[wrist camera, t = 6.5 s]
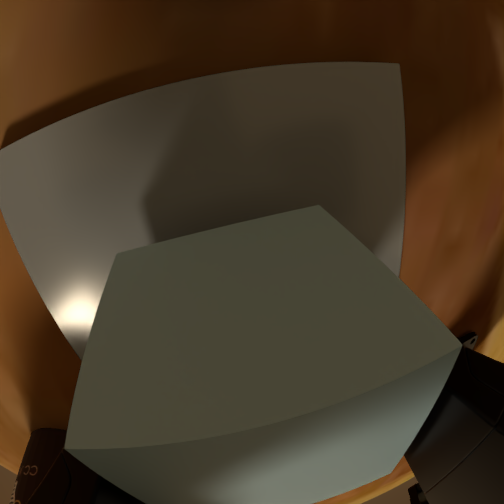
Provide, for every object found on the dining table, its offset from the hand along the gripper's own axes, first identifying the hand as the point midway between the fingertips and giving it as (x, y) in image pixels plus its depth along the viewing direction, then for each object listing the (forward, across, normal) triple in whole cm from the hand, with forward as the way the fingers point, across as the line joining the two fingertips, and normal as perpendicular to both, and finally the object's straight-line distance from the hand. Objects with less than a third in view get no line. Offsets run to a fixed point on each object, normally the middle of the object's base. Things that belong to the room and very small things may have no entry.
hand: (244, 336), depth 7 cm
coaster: (+3, 0, 0) cm, 3 cm away
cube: (+1, 0, 0) cm, 1 cm away
